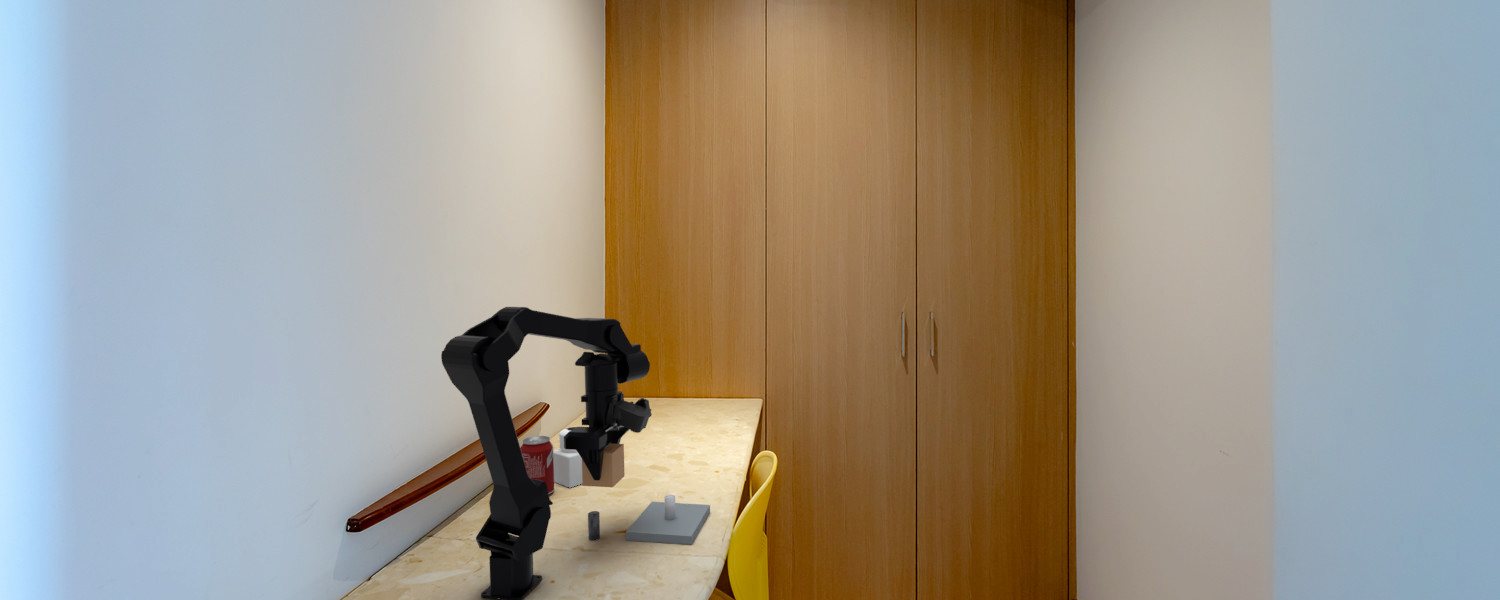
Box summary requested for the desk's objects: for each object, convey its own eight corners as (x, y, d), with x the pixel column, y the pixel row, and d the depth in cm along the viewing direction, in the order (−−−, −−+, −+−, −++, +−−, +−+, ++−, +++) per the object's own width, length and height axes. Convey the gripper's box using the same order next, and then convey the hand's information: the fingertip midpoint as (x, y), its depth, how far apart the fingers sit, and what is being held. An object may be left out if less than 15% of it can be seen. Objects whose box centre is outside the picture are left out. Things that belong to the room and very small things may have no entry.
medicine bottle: (578, 473, 141) (577, 423, 140) (596, 479, 136) (595, 428, 136) (551, 481, 135) (550, 429, 135) (569, 488, 131) (568, 435, 130)
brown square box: (612, 487, 103) (612, 453, 103) (582, 485, 104) (581, 452, 104) (624, 476, 109) (623, 444, 109) (595, 474, 110) (594, 442, 109)
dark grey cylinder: (597, 540, 105) (596, 515, 105) (586, 540, 105) (586, 515, 105) (601, 535, 107) (601, 511, 107) (591, 535, 107) (590, 510, 107)
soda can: (543, 501, 123) (542, 444, 123) (514, 499, 125) (512, 443, 124) (560, 489, 130) (558, 435, 129) (532, 487, 131) (530, 434, 131)
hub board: (691, 544, 103) (691, 513, 103) (626, 540, 105) (625, 509, 105) (710, 512, 117) (709, 485, 117) (651, 508, 119) (651, 482, 119)
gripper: (625, 401, 95) (628, 496, 96) (661, 379, 114) (662, 459, 114) (560, 399, 97) (563, 492, 98) (606, 378, 115) (607, 457, 116)
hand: (603, 474), depth 106 cm, fingers closed on brown square box, 6 cm apart
